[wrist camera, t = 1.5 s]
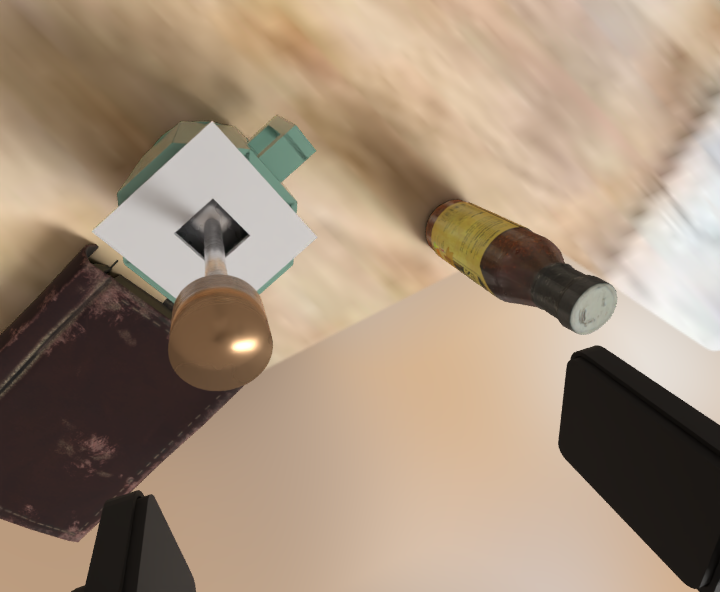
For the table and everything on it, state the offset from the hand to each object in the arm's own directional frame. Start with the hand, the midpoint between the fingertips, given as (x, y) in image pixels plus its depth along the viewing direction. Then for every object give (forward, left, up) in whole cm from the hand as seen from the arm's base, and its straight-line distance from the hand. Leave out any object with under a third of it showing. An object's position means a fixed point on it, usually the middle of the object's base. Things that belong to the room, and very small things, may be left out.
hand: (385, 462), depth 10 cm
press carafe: (0, -2, -35) cm, 35 cm away
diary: (+19, -18, -35) cm, 44 cm away
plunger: (0, -3, -22) cm, 23 cm away
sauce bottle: (+8, +20, -35) cm, 41 cm away
